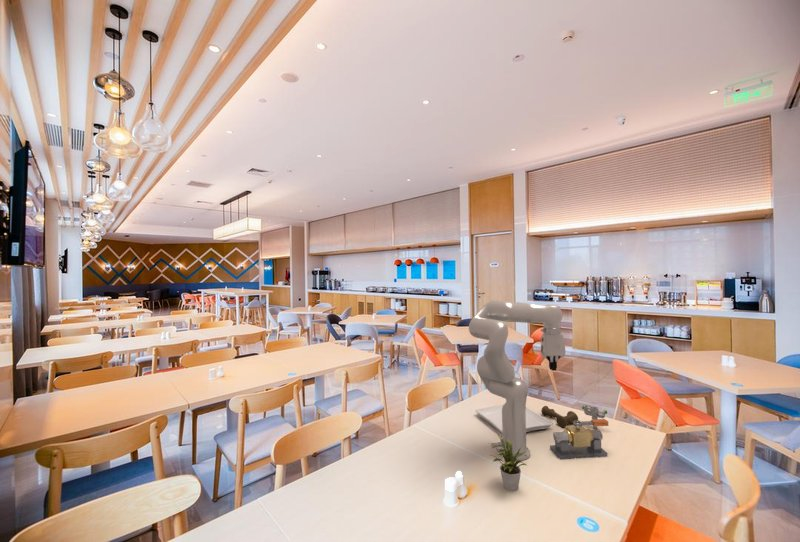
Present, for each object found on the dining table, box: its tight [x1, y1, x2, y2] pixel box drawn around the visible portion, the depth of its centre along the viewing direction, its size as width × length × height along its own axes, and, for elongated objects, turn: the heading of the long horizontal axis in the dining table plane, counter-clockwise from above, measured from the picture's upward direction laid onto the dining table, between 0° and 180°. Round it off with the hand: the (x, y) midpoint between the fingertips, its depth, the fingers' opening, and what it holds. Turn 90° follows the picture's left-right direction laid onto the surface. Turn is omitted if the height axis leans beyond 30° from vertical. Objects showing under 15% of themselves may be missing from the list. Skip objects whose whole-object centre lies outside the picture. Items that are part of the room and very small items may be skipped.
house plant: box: [488, 434, 528, 492], centre depth 122 cm, size 14×14×16 cm
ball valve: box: [549, 424, 608, 460], centre depth 141 cm, size 20×8×11 cm, turn 94°
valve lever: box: [572, 418, 609, 427], centre depth 142 cm, size 14×3×2 cm, turn 93°
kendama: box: [541, 405, 579, 429], centre depth 170 cm, size 6×10×20 cm
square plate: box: [474, 404, 554, 434], centre depth 170 cm, size 27×27×4 cm
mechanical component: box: [581, 404, 608, 430], centre depth 162 cm, size 3×10×10 cm, turn 53°
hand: (553, 369), depth 160 cm, fingers closed
